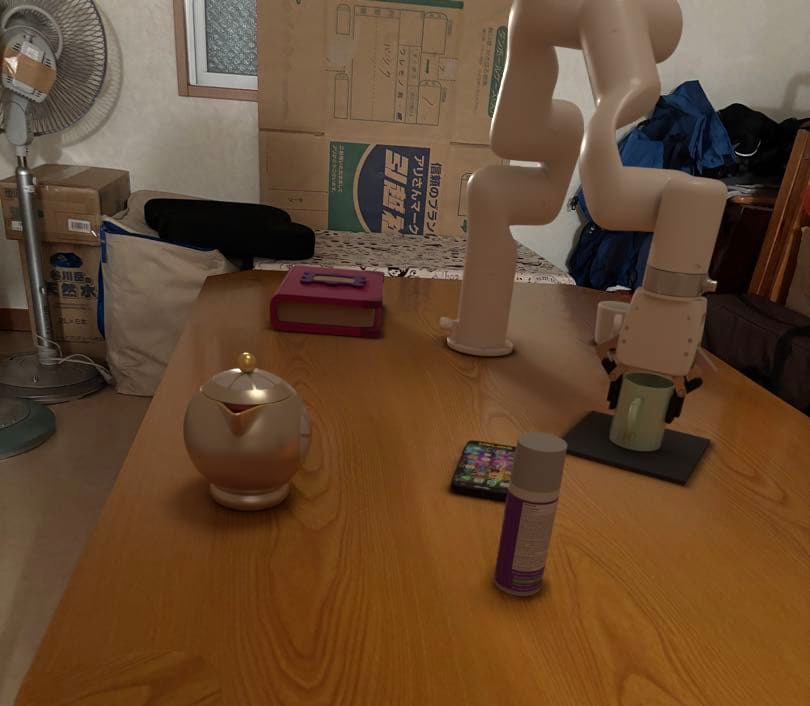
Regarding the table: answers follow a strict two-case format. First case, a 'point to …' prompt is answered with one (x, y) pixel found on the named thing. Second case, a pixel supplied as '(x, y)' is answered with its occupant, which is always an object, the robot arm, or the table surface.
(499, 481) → the smartphone
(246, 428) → the teapot
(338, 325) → the book
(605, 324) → the cup
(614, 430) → the mug
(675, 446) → the mat
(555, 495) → the container
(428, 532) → the table surface
